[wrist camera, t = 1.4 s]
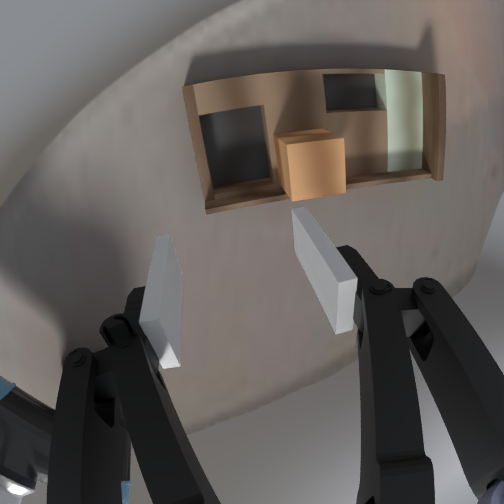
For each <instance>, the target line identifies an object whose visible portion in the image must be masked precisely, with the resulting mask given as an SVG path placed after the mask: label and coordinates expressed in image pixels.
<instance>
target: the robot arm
mask: <svg viewBox="0 0 504 504" xmlns="http://www.w3.org/2000/svg"><path fill="white" fill-rule="evenodd" d="M292 219H293V231H294V244H295V253H296V255H297V257H298V259H299V261H300V263H301V265H302V267H303V269H304V271H305V273H306V275H307V277H308V279H309V281H310V283H311V285H312V287H313V289H314V291H315V293H316V295H317V297H318V299H319V301H320V303H321V305H322V307H323V309H324V311H325V313H326V315H327V317H328V319H329V321H330V323H331V326H332V328H333V330H334V332H335V334H339V333H343V332H346V331H350V330H353V322H355V323H356V325H357V327H358V332H357V339H356V346H355V347H358V357H359V374H360V397H361V398H360V400H361V468H360V470H361V472H360V485H359V490H358V495H357V502H356V504H435V490H434V472H433V464H432V462H431V459H430V458H429V457H427V456H426V455H425V451H424V443H423V434H422V424H421V416H420V409H419V402H418V395H417V389H416V383H415V377H414V371H413V366H412V360H411V355H410V351H411V353H412V355H413V357H414V359H415V361H416V363H417V365H418V367H419V369H420V371H421V373H422V375H423V377H424V379H425V381H426V383H427V385H428V387H429V390H430V392H431V394H432V396H433V398H434V401H435V403H436V405H437V407H438V409H439V412H440V414H441V416H442V419H443V421H444V423H445V426H446V428H447V430H448V433H449V435H450V438H451V440H452V442H453V445H454V447H455V450H456V453H457V455H458V458H459V460H460V463H461V466H462V468H463V471H464V474H465V476H466V479H467V481H468V483H469V486H470V487H471V489H472V491H473V493H474V494H475V496H476V497H477V499H478V500H479V501H478V503H477V504H504V375H503V373H502V371H501V370H500V368H499V366H498V365H497V363H496V362H495V360H494V359H493V357H492V356H491V354H490V353H489V351H488V349H487V348H486V346H485V345H484V343H483V341H482V340H481V338H480V337H479V336H478V334H477V333H476V331H475V330H474V328H473V327H472V325H471V324H470V323H469V321H468V320H467V318H466V317H465V315H464V314H463V313H462V311H461V310H460V309H459V307H458V306H457V304H456V303H455V302H454V301H453V299H452V298H451V296H450V295H449V294H448V292H447V291H446V290H445V289H444V287H443V286H442V285H441V284H440V283H439V282H438V281H437V280H435V279H432V278H428V277H423V278H419V279H417V280H416V281H415V282H414V283H413V288H394V286H393V284H391V283H390V282H389V281H387V280H384V279H379V278H378V277H377V276H376V274H375V273H374V272H373V271H372V269H371V268H370V267H369V266H368V264H367V263H366V262H365V260H364V259H363V258H362V257H361V255H360V254H359V253H358V252H357V250H355V249H354V248H352V247H350V246H348V245H345V246H341V247H335V246H334V244H333V243H332V242H331V240H330V239H329V238H328V236H327V235H326V234H325V232H324V231H323V229H322V228H321V227H320V225H319V224H318V223H317V221H316V220H315V219H314V218H313V216H312V215H311V214H310V212H309V211H308V210H307V208H306V207H301V208H295V209H292ZM182 292H183V272H182V269H181V266H180V263H179V259H178V256H177V253H176V249H175V246H174V243H173V239H172V236H171V233H168V234H163V235H158V236H157V238H156V242H155V246H154V250H153V255H152V259H151V264H150V268H149V273H148V278H147V282H146V286H144V287H138V288H134V289H133V290H132V291H131V293H130V294H129V295H128V298H127V302H126V306H125V312H124V314H116V315H113V316H111V317H109V318H107V319H106V320H105V321H104V322H103V323H102V325H101V327H100V333H101V335H102V337H103V338H104V340H105V342H106V343H107V345H108V346H109V347H107V348H105V349H103V350H101V351H98V352H96V353H93V354H92V353H91V351H90V350H89V349H87V348H78V349H75V350H74V351H72V352H71V353H70V354H69V355H68V356H67V357H66V360H65V362H64V367H63V372H62V376H61V381H60V386H59V392H58V397H57V403H56V409H55V410H54V409H52V408H51V407H49V406H47V405H46V404H44V403H42V402H41V401H39V400H37V399H36V398H34V397H32V396H31V395H29V394H28V393H26V392H25V391H23V390H22V389H20V388H19V387H17V386H16V384H15V383H11V382H9V381H8V380H6V379H5V378H3V377H2V376H0V504H21V498H22V497H23V496H24V495H27V494H30V493H33V492H34V490H35V486H36V481H40V482H42V483H44V484H47V504H127V502H128V500H129V491H130V484H131V481H130V464H131V442H132V445H133V448H134V451H135V455H136V458H137V461H138V463H139V467H140V470H141V473H142V475H143V478H144V481H145V483H146V486H147V489H148V492H149V494H150V497H151V499H152V502H153V504H221V503H220V501H219V499H218V498H217V496H216V494H215V492H214V490H213V489H212V487H211V485H210V483H209V481H208V479H207V477H206V475H205V473H204V471H203V469H202V467H201V465H200V463H199V461H198V459H197V457H196V455H195V453H194V451H193V448H192V446H191V444H190V442H189V440H188V438H187V435H186V433H185V431H184V429H183V427H182V424H181V422H180V420H179V417H178V415H177V413H176V410H175V408H174V405H173V403H172V401H171V398H170V396H169V393H168V391H167V388H166V385H165V383H164V380H163V378H162V375H161V374H160V372H159V370H158V366H159V362H160V364H161V366H162V367H163V369H165V368H172V367H180V366H181V318H182ZM409 349H410V350H409Z"/></svg>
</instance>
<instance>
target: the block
mask: <svg viewBox="0 0 504 504" xmlns="http://www.w3.org/2000/svg"><path fill="white" fill-rule="evenodd" d="M273 137H274V145H275V154H276V162H277V170H278V179H279V184H280V185H281V187H282V188H283V189H284V191H285V192H286V194H287V195H288V196H289V198H290V199H291V201H292V202H293V201H299V200H305V199H311V198H317V197H323V196H329V195H335V194H341V193H346V174H345V147H344V138H343V137H341V136H338V135H336V134H334V133H332V132H330V131H327V130H325V129H313V130H304V131H296V132H288V133H280V134H273Z"/></svg>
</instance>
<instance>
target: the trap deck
mask: <svg viewBox="0 0 504 504" xmlns="http://www.w3.org/2000/svg"><path fill="white" fill-rule="evenodd" d="M182 90H183V95H184V101H185V106H186V111H187V117H188V122H189V127H190V132H191V137H192V142H193V147H194V152H195V157H196V162H197V166H198V171H199V176H200V181H201V185H202V190H203V195H204V199H205V210H206V214H211V213H216V212H221V211H226V210H232V209H237V208H242V207H247V206H252V205H258V204H263V203H269V202H274V201H280V200H285V199H290V198H289V196H288V195H287V194H286V192H285V191H284V189H283V188H282V187H281V185H280V184H279V179H278V170H277V162H276V154H275V145H274V137H273V134H280V133H288V132H296V131H304V130H313V129H325V130H327V131H330V132H332V133H334V134H336V135H338V136H341V137H343V138H344V147H345V174H346V189H353V188H360V187H366V186H373V185H380V184H388V183H395V182H402V181H410V180H418V179H426V178H432V179H434V180H436V181H440V180H443V171H444V158H445V138H446V86H445V75H443V74H435V73H425V72H414V71H402V70H386V69H313V70H296V71H283V72H273V73H263V74H255V75H247V76H240V77H233V78H226V79H220V80H214V81H209V82H203V83H198V84H193V85H188V86H184V87H182Z"/></svg>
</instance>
